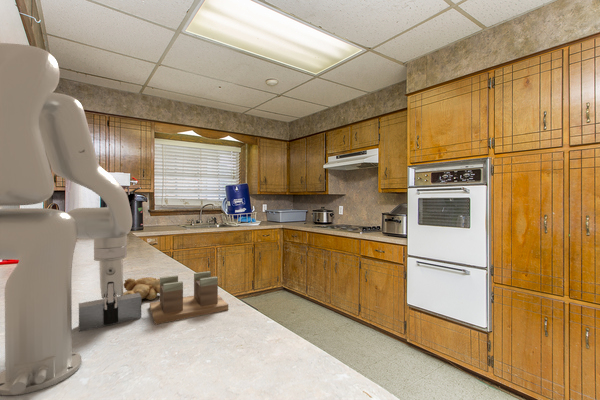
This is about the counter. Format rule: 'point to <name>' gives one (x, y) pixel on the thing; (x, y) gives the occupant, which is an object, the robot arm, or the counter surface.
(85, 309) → the bracket bar
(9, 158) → the robot arm
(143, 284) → the ginger root
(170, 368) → the counter surface
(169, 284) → the post rig
